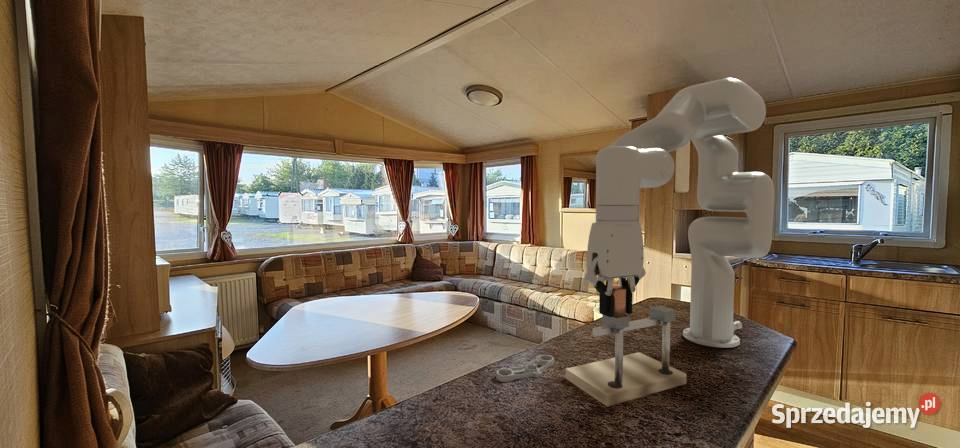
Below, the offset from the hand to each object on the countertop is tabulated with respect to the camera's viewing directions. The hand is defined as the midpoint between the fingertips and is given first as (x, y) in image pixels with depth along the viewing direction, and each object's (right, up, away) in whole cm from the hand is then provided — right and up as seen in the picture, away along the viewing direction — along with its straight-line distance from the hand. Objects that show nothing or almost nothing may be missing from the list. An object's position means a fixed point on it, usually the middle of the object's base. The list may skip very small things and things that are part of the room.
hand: (615, 312), depth 72 cm
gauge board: (+4, -15, +5) cm, 16 cm away
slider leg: (0, -13, +1) cm, 13 cm away
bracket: (-15, -15, +10) cm, 24 cm away
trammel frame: (+5, -13, +3) cm, 14 cm away
